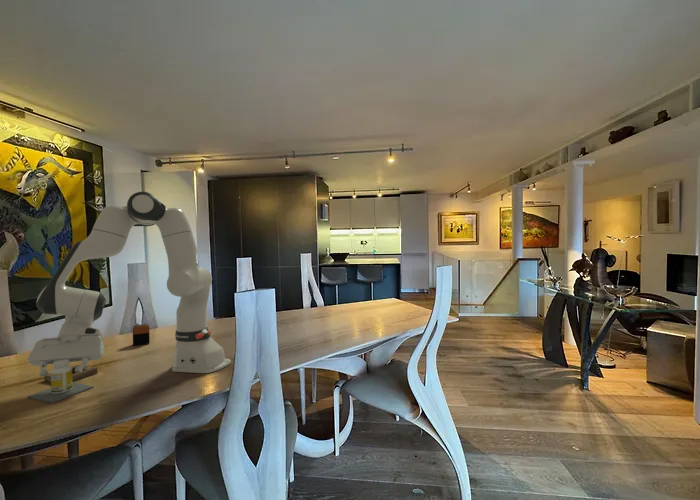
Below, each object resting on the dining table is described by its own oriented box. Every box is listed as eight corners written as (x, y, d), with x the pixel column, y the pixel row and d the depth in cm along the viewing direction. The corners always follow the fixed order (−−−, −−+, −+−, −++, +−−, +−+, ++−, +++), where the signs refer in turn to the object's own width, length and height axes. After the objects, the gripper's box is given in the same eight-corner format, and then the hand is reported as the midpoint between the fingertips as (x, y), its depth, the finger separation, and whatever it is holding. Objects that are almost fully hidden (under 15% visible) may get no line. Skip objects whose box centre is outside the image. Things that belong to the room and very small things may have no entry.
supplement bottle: (70, 386, 115) (69, 357, 115) (74, 390, 111) (74, 360, 111) (49, 391, 110) (48, 361, 110) (53, 396, 107) (52, 365, 107)
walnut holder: (97, 373, 128) (97, 367, 128) (64, 384, 117) (64, 378, 117) (78, 369, 131) (78, 364, 131) (44, 380, 121) (44, 375, 121)
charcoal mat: (93, 387, 114) (93, 386, 114) (52, 403, 103) (52, 401, 103) (70, 383, 119) (70, 381, 119) (27, 397, 107) (27, 396, 107)
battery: (133, 344, 166) (133, 323, 166) (149, 342, 169) (149, 322, 169) (132, 346, 162) (132, 325, 162) (149, 344, 166) (149, 323, 165)
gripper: (33, 334, 114) (16, 373, 105) (104, 329, 120) (94, 365, 111) (41, 343, 118) (25, 382, 109) (109, 338, 125) (99, 374, 116)
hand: (60, 373), depth 110 cm, fingers open, 8 cm apart
